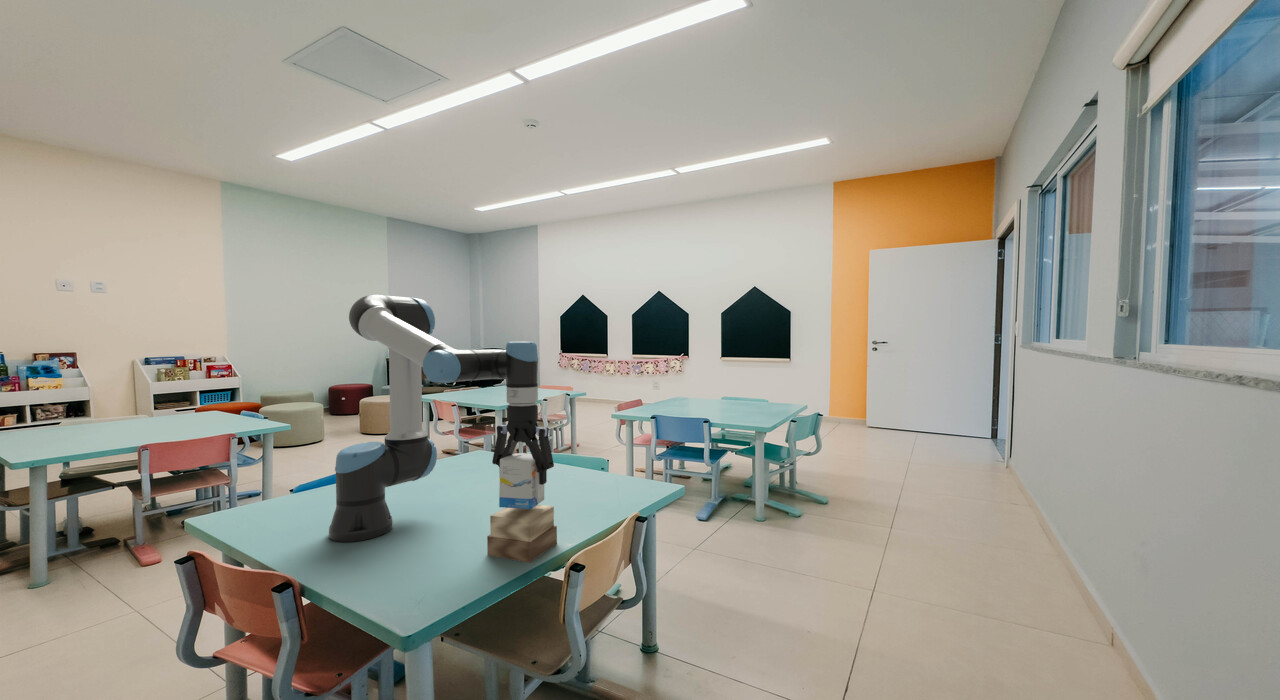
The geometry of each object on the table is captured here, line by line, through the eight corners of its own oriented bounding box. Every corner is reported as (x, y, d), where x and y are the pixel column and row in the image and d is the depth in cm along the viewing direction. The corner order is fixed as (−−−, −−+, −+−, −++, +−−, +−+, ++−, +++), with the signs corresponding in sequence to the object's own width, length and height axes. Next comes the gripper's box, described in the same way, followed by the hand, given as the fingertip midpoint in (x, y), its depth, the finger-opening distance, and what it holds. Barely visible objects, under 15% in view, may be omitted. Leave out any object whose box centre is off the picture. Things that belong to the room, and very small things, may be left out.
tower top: (490, 536, 122) (490, 515, 122) (516, 521, 132) (516, 502, 132) (530, 542, 118) (530, 520, 118) (553, 526, 129) (553, 506, 129)
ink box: (530, 510, 120) (531, 460, 120) (498, 507, 122) (498, 458, 122) (545, 499, 129) (545, 453, 129) (514, 497, 131) (514, 451, 131)
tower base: (487, 556, 122) (487, 536, 122) (517, 539, 134) (517, 520, 133) (529, 564, 118) (529, 543, 118) (556, 545, 129) (556, 525, 129)
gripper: (476, 403, 126) (477, 494, 126) (552, 407, 118) (552, 504, 118) (495, 400, 133) (496, 486, 133) (568, 404, 125) (569, 495, 125)
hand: (522, 495), depth 126 cm, fingers closed on ink box, 9 cm apart
